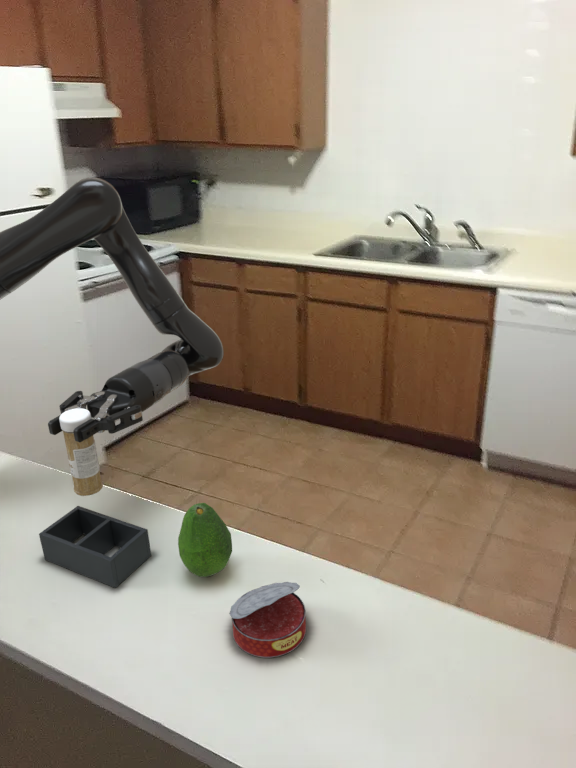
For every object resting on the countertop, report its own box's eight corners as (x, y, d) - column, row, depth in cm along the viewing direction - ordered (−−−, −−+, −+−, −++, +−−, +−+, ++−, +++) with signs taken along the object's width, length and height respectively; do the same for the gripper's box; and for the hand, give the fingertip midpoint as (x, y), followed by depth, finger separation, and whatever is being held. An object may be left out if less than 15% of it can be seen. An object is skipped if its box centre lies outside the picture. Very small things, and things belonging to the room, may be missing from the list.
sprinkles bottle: (73, 484, 107) (58, 410, 101) (102, 478, 108) (89, 404, 103) (74, 500, 103) (59, 423, 98) (105, 493, 104) (91, 417, 99)
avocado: (171, 580, 99) (162, 513, 94) (199, 549, 106) (192, 485, 101) (218, 595, 96) (211, 527, 91) (244, 562, 102) (239, 496, 97)
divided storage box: (44, 559, 104) (38, 533, 102) (82, 530, 111) (77, 505, 109) (115, 588, 98) (110, 561, 96) (151, 555, 105) (147, 529, 103)
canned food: (247, 680, 88) (206, 635, 83) (254, 618, 96) (216, 574, 92) (323, 654, 85) (284, 606, 80) (323, 592, 93) (287, 546, 89)
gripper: (103, 360, 114) (24, 401, 100) (170, 374, 107) (95, 420, 94) (109, 400, 117) (33, 444, 104) (175, 415, 111) (103, 465, 97)
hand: (63, 432), depth 99 cm, fingers closed on sprinkles bottle, 4 cm apart
